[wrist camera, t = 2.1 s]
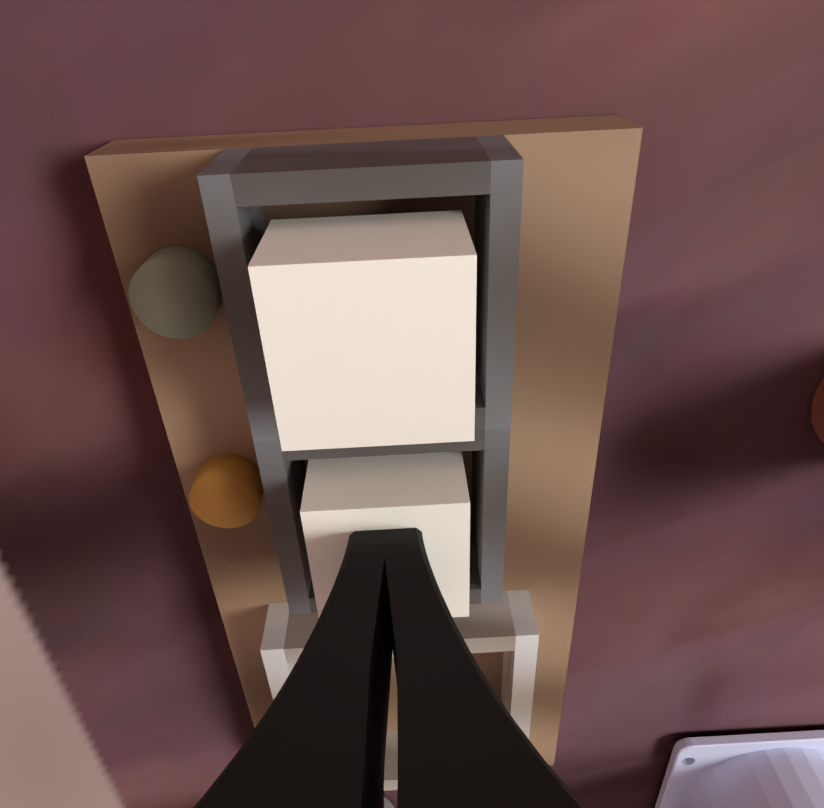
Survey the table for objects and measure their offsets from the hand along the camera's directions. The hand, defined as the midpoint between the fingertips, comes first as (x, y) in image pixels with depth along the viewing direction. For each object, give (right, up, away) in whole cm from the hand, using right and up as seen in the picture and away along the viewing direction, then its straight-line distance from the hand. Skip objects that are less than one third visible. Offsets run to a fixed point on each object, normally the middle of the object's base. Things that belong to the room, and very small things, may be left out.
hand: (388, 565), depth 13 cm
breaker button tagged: (0, +1, +2) cm, 2 cm away
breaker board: (0, 0, +5) cm, 5 cm away
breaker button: (0, +5, -1) cm, 5 cm away
